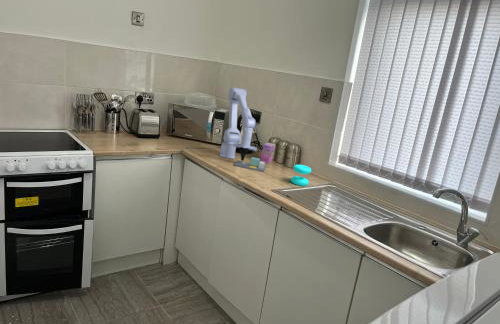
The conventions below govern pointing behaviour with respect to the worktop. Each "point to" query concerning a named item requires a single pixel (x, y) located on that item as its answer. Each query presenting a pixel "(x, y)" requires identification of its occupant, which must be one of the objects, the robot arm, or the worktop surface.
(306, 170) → the donuts
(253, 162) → the sleeve
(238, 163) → the board
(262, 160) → the box
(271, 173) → the worktop surface
